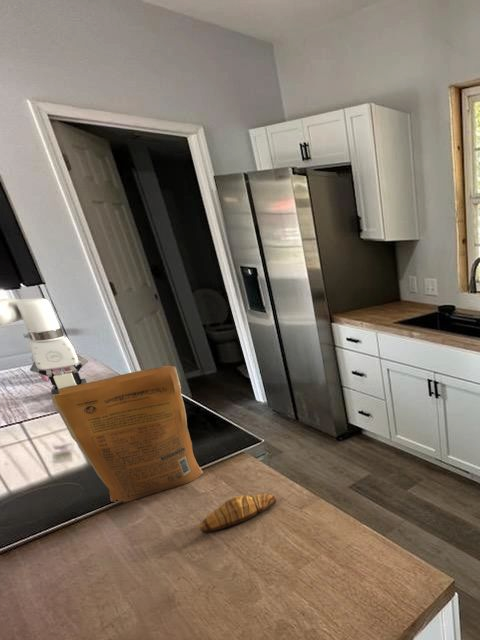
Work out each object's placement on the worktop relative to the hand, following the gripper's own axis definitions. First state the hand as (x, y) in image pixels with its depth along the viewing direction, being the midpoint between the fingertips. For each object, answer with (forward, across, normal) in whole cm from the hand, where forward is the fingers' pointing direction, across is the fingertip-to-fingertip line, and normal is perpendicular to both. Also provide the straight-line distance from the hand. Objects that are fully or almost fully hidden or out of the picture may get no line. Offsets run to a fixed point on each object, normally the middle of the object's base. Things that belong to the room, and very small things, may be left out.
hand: (67, 384), depth 147 cm
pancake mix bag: (+3, +21, -97) cm, 99 cm away
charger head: (+1, 0, 0) cm, 1 cm away
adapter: (+3, 0, 0) cm, 3 cm away
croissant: (+3, +33, -121) cm, 126 cm away
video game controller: (+3, -5, +25) cm, 26 cm away
